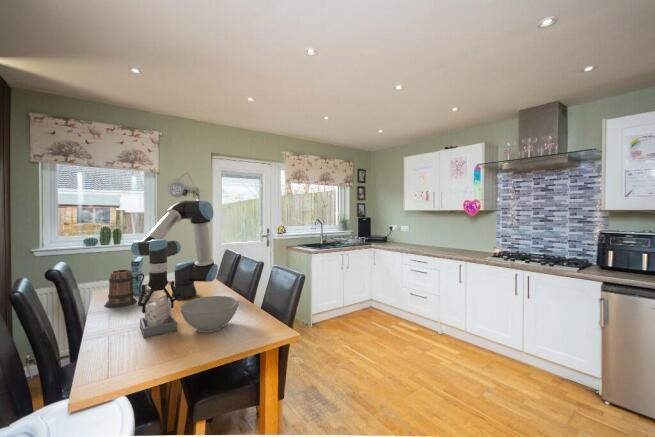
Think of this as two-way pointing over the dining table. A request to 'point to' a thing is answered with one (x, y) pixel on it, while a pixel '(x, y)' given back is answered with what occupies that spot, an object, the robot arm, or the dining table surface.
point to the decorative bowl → (209, 312)
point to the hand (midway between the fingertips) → (158, 317)
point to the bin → (158, 327)
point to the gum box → (136, 269)
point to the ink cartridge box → (158, 312)
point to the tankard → (122, 289)
